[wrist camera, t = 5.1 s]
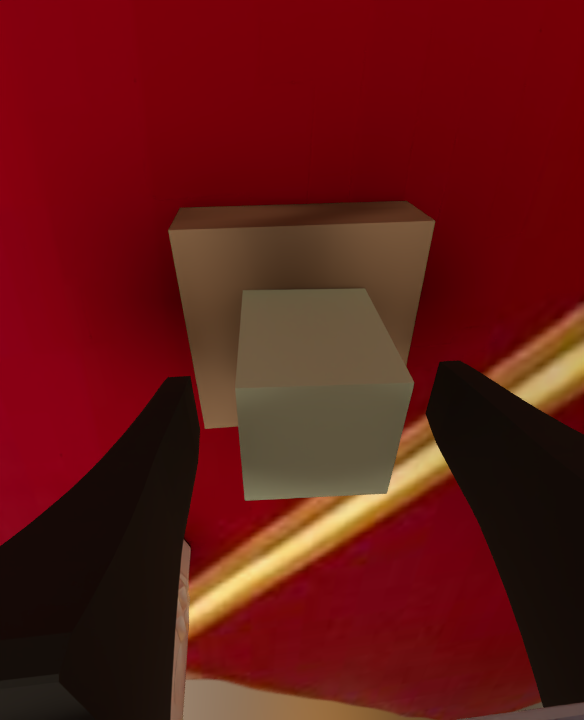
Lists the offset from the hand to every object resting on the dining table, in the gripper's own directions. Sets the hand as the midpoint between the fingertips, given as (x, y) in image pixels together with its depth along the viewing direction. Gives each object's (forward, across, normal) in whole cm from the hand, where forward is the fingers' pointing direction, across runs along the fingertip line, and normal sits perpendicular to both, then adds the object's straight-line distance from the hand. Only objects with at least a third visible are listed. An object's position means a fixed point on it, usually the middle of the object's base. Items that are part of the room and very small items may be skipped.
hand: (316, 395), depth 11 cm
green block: (+3, 0, 0) cm, 3 cm away
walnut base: (+6, 0, 0) cm, 6 cm away
